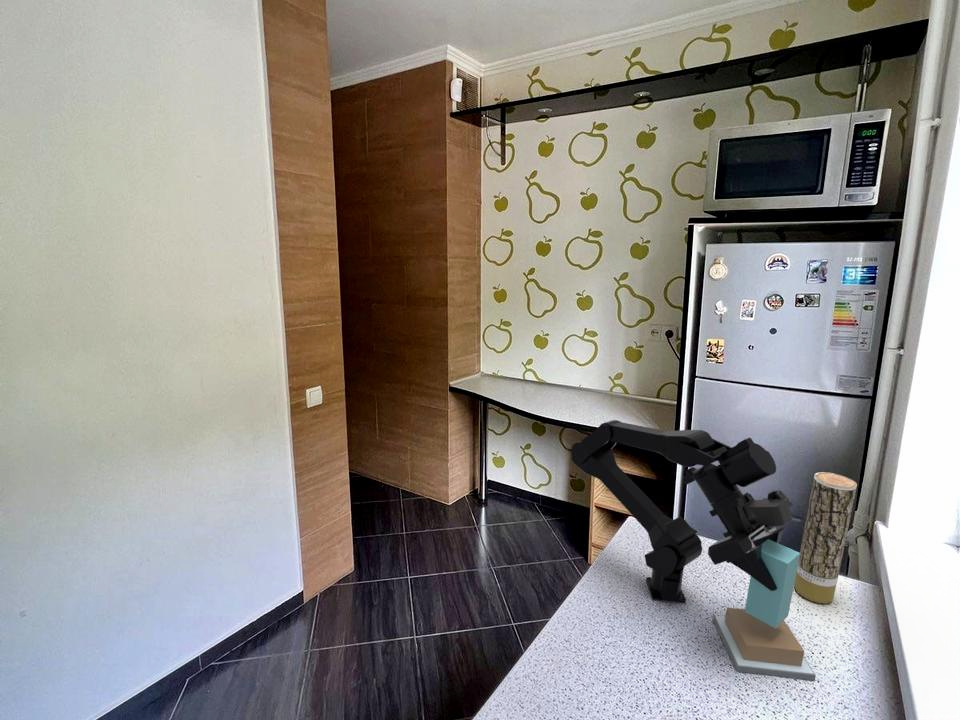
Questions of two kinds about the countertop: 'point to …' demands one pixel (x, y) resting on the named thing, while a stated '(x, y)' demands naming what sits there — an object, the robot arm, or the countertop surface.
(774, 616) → the teal block
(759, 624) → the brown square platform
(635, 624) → the countertop surface
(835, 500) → the wooden log
